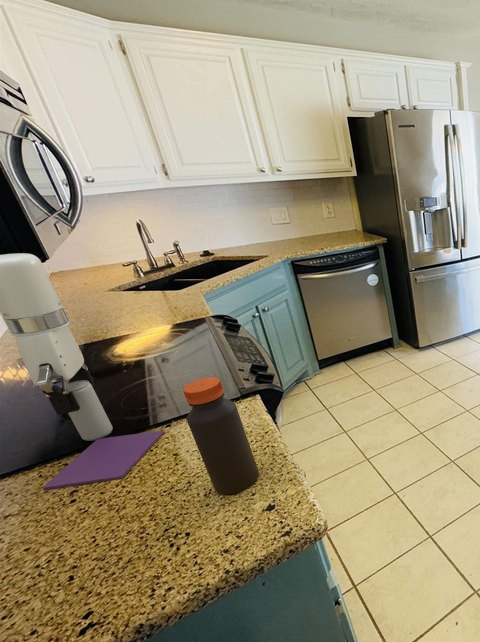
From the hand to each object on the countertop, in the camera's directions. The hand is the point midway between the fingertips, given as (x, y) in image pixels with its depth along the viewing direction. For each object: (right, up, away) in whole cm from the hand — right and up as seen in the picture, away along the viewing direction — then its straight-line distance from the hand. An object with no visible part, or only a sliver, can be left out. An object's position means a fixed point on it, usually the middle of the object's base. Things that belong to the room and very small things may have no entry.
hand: (77, 400), depth 82 cm
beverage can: (0, -8, +4) cm, 9 cm away
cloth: (+10, -11, -3) cm, 15 cm away
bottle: (+39, -13, -10) cm, 42 cm away
